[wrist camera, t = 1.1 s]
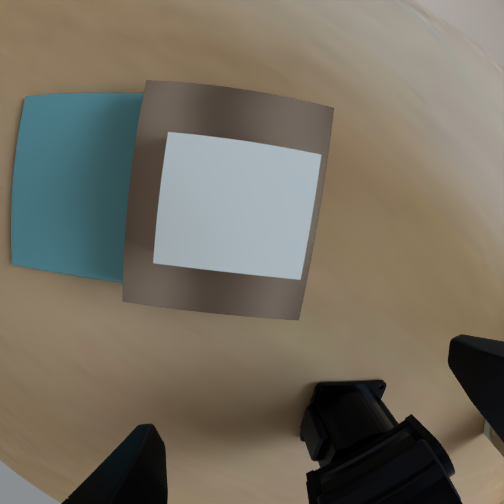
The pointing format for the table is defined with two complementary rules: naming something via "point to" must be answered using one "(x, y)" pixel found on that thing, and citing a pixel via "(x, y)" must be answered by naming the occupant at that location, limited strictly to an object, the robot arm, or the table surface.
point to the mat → (74, 183)
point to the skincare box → (493, 437)
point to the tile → (235, 206)
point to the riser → (149, 181)
